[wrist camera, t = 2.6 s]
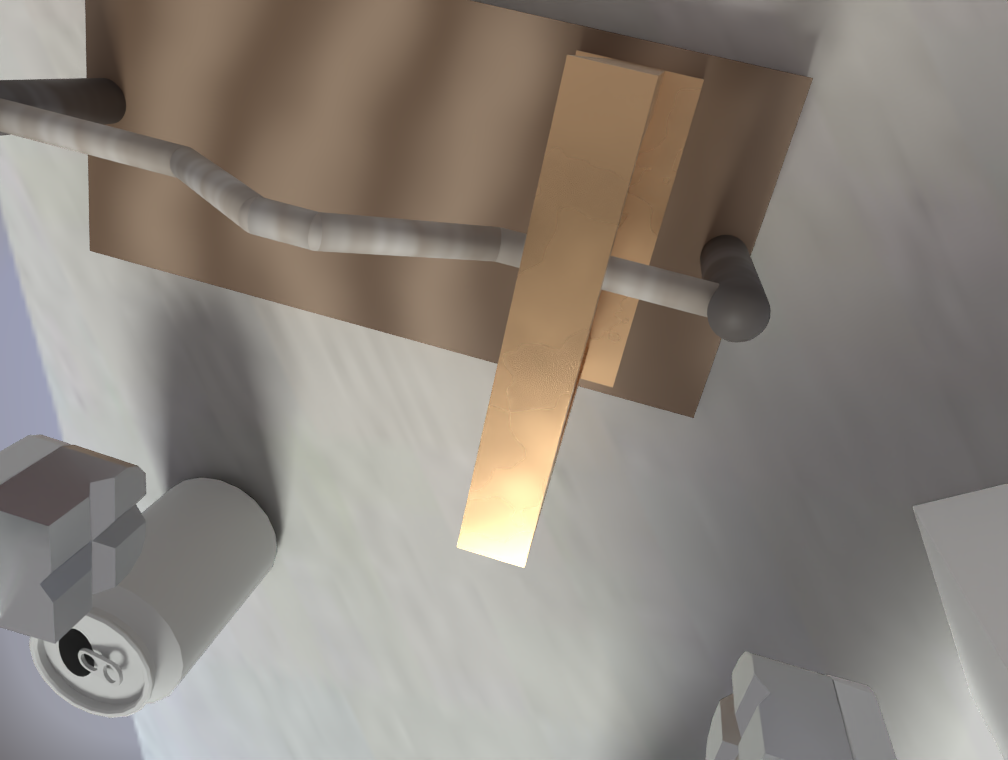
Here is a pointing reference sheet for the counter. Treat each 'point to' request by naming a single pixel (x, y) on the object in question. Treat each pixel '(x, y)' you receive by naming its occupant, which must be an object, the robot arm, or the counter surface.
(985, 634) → the milk
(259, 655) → the counter surface
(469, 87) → the buzz board
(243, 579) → the can
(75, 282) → the counter surface
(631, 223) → the wooden frame
